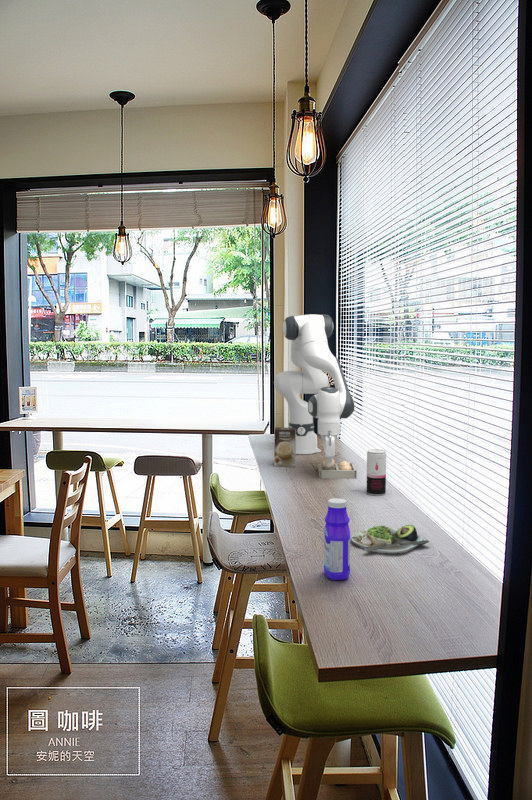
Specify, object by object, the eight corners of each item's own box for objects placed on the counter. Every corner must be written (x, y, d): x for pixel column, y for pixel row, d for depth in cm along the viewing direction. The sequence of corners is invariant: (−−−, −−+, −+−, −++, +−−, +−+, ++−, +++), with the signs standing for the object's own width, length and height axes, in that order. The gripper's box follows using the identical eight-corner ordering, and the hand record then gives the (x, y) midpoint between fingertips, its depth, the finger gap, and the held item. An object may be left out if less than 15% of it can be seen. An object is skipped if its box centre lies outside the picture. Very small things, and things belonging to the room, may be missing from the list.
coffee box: (273, 466, 242) (273, 429, 240) (274, 463, 248) (274, 427, 246) (295, 467, 241) (295, 429, 239) (296, 464, 247) (296, 427, 245)
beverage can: (387, 492, 200) (388, 450, 199) (383, 496, 194) (383, 453, 193) (369, 490, 203) (369, 448, 201) (364, 494, 197) (364, 451, 195)
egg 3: (339, 474, 224) (339, 463, 224) (351, 474, 224) (351, 463, 223) (340, 477, 219) (340, 465, 219) (352, 477, 219) (352, 465, 219)
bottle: (321, 569, 133) (321, 496, 131) (345, 568, 133) (346, 495, 131) (327, 582, 125) (327, 505, 124) (352, 581, 126) (353, 504, 124)
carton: (318, 471, 232) (318, 462, 232) (353, 471, 232) (353, 463, 231) (319, 479, 219) (319, 470, 218) (356, 480, 218) (356, 470, 217)
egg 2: (338, 470, 231) (338, 459, 230) (349, 471, 230) (350, 459, 230) (339, 473, 226) (339, 462, 225) (350, 473, 226) (351, 462, 225)
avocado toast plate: (392, 565, 136) (392, 546, 135) (334, 546, 149) (334, 529, 148) (435, 545, 149) (436, 528, 148) (379, 529, 162) (379, 513, 161)
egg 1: (334, 467, 224) (334, 455, 223) (334, 470, 219) (335, 458, 219) (322, 467, 224) (322, 455, 224) (322, 469, 220) (323, 458, 219)
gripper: (339, 433, 210) (338, 470, 211) (335, 425, 230) (335, 459, 231) (321, 433, 210) (321, 470, 211) (320, 425, 230) (319, 459, 232)
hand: (328, 464), depth 222 cm, fingers closed on egg 1, 4 cm apart
